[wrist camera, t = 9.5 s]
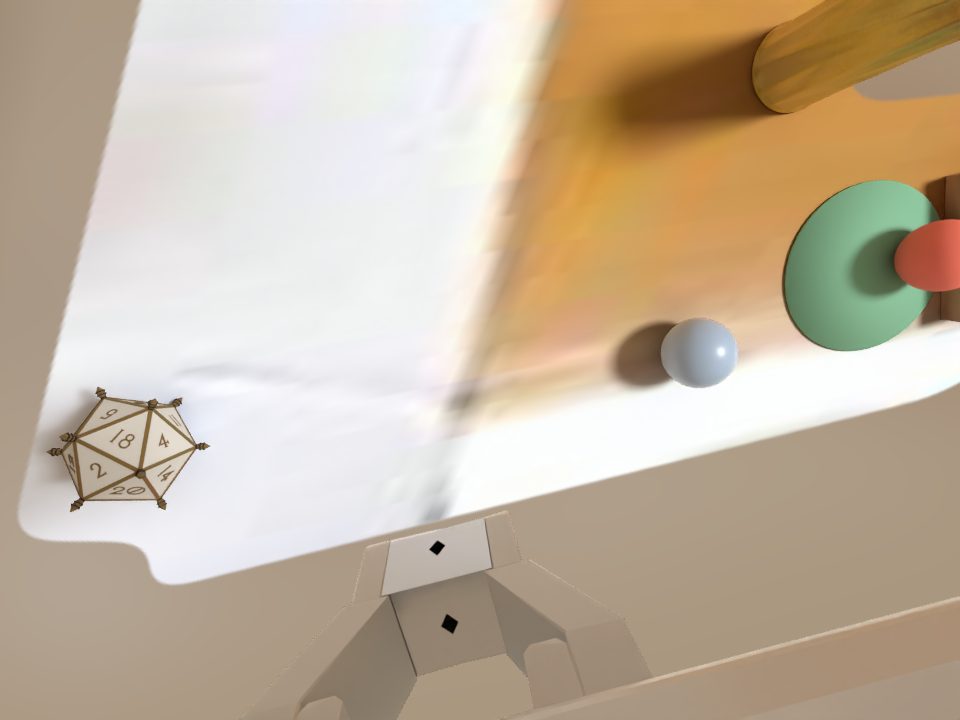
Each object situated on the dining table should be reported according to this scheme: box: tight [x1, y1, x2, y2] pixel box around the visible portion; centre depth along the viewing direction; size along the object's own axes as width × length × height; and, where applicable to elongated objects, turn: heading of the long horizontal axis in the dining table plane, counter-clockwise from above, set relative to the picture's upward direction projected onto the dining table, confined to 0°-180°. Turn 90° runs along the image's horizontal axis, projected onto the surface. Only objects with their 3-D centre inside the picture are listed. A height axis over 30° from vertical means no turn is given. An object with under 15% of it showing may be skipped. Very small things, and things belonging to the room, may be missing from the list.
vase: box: [752, 0, 960, 113], centre depth 27 cm, size 6×6×14 cm
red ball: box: [894, 219, 960, 292], centre depth 36 cm, size 6×6×6 cm
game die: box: [47, 387, 210, 512], centre depth 33 cm, size 9×8×10 cm
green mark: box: [785, 180, 940, 351], centre depth 38 cm, size 14×14×1 cm
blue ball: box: [661, 318, 738, 388], centre depth 36 cm, size 6×6×6 cm
